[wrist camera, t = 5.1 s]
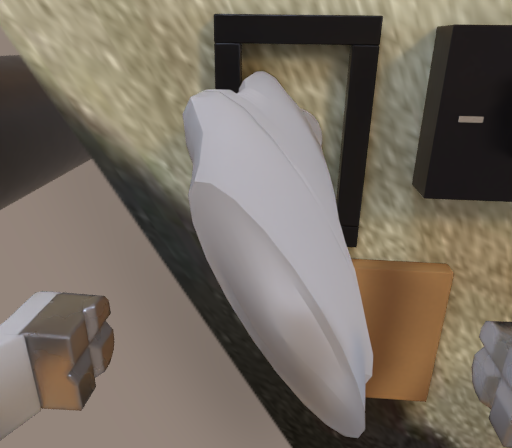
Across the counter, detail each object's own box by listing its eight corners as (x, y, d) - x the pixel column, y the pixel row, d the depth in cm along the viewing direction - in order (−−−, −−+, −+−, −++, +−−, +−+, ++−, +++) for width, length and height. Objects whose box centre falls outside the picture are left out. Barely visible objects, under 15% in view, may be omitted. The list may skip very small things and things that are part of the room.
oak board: (303, 380, 37) (303, 393, 36) (312, 256, 33) (313, 265, 31) (421, 388, 37) (426, 401, 35) (447, 263, 32) (454, 273, 31)
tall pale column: (225, 82, 28) (57, 174, 8) (280, 48, 27) (241, 59, 7) (300, 214, 32) (312, 517, 11) (352, 189, 31) (467, 472, 10)
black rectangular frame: (220, 234, 33) (218, 240, 32) (216, 15, 27) (213, 13, 26) (354, 240, 32) (356, 247, 31) (379, 16, 26) (383, 15, 25)
